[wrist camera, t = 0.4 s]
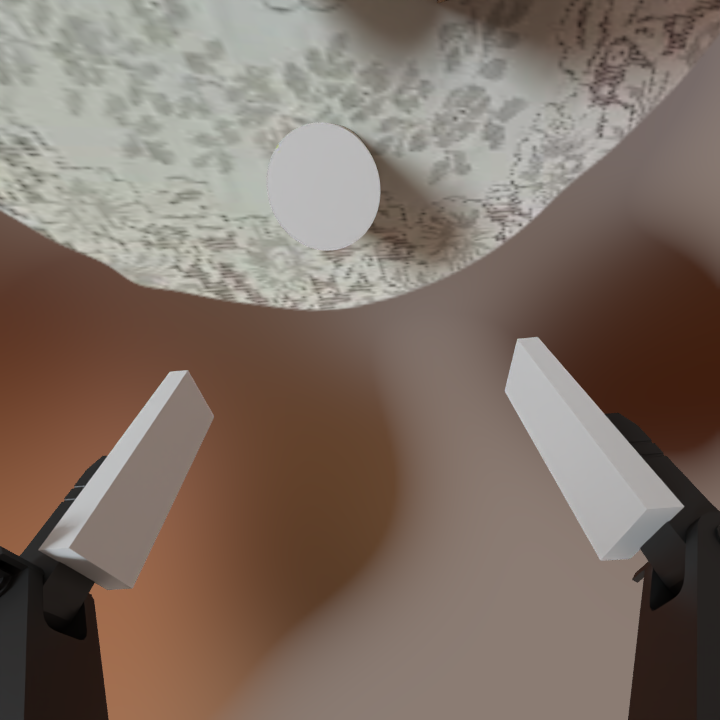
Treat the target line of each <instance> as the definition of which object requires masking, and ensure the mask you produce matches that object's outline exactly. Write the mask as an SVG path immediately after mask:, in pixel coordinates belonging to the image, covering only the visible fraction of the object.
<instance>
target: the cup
mask: <svg viewBox="0 0 720 720" xmlns="http://www.w3.org/2000/svg"><path fill="white" fill-rule="evenodd" d="M267 193H268V198H269V202H270V205H271V208H272V211H273V213H274V215H275V217H276V219H277V220H278V222H279V223H280V225H281V226H282V227H283V229H284V230H285V231H286V232H287V233H288V234H289V235H290V236H291V237H292V238H294V239H295V240H296V241H298V242H300V243H301V244H303V245H305V246H308V247H310V248H314V249H318V250H337V249H341V248H344V247H347V246H349V245H351V244H353V243H354V242H356V241H357V240H358V239H360V238H361V237H362V236H363V235H364V234H365V233H366V232H367V230H368V229H369V228H370V226H371V224H372V223H373V221H374V219H375V216H376V214H377V211H378V207H379V202H380V179H379V174H378V170H377V167H376V164H375V162H374V160H373V158H372V156H371V154H370V152H369V151H368V149H367V148H366V146H365V144H364V143H363V141H362V140H361V139H360V138H359V137H358V136H357V135H356V134H355V133H354V132H353V131H351V130H350V129H348V128H346V127H344V126H341V125H336V124H330V123H321V122H318V123H309V124H306V125H303V126H300V127H298V128H296V129H294V130H293V131H291V132H290V133H289V134H287V135H286V136H285V137H284V138H283V139H282V140H281V141H280V143H279V144H278V145H277V147H276V149H275V150H274V152H273V154H272V157H271V159H270V162H269V166H268V171H267Z"/></svg>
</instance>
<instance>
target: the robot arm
mask: <svg viewBox="0 0 720 720" xmlns="http://www.w3.org/2000/svg"><path fill="white" fill-rule="evenodd" d="M505 393H506V394H507V396H508V398H509V400H510V401H511V403H512V405H513V407H514V409H515V410H516V412H517V414H518V416H519V417H520V419H521V421H522V423H523V424H524V426H525V428H526V429H527V432H528V433H529V435H530V437H531V439H532V440H533V442H534V444H535V446H536V447H537V449H538V451H539V453H540V454H541V456H542V458H543V460H544V462H545V463H546V465H547V467H548V468H549V470H550V472H551V474H552V475H553V477H554V479H555V481H556V482H557V484H558V486H559V488H560V490H561V491H562V493H563V495H564V497H565V499H566V500H567V502H568V504H569V505H570V507H571V509H572V511H573V513H574V514H575V516H576V518H577V519H578V522H579V523H580V525H581V527H582V529H583V530H584V532H585V534H586V536H587V537H588V539H589V541H590V543H591V544H592V546H593V548H594V550H595V552H596V553H597V555H598V557H599V559H600V560H618V559H630V558H632V557H633V555H635V553H637V552H638V551H639V550H640V549H641V551H642V552H643V554H644V555H645V556H646V558H647V559H648V562H647V563H646V564H645V565H644V566H643V567H642V568H640V569H639V570H638V571H637V572H636V573H635V575H634V577H633V580H634V581H636V582H639V581H640V580H641V579H642V578H644V582H643V592H642V600H641V608H640V617H639V626H638V636H637V644H636V653H635V663H634V671H633V680H632V689H631V698H630V707H629V716H628V720H720V511H719V510H717V508H716V507H714V506H713V505H712V504H711V503H710V502H709V501H708V500H707V499H706V497H705V496H704V495H703V494H702V493H701V492H700V491H699V490H698V489H697V488H696V487H695V486H694V485H693V484H692V483H691V482H690V481H689V479H688V478H687V477H686V476H685V475H684V474H683V473H682V472H681V471H680V470H679V469H678V468H677V467H676V466H675V465H674V464H673V463H672V461H671V460H670V459H669V458H668V457H667V456H664V455H663V452H662V451H661V450H660V449H659V448H658V447H657V446H656V445H655V443H652V442H651V439H650V438H649V437H648V436H647V435H646V434H645V433H644V432H643V431H642V430H641V429H640V427H639V426H637V425H636V424H635V423H633V422H632V421H630V420H628V419H627V418H625V417H624V416H622V415H621V414H619V413H611V414H604V413H603V412H602V411H601V410H600V409H599V407H598V406H597V405H596V404H595V403H594V402H593V400H592V399H591V398H590V397H589V396H588V395H587V394H586V393H585V391H584V390H583V389H582V388H581V387H580V385H579V384H578V383H577V382H576V381H575V380H574V379H573V377H572V376H571V375H570V374H569V373H568V372H567V370H566V369H565V368H564V367H563V366H562V365H561V363H560V362H559V361H558V360H557V359H556V358H555V357H554V355H553V354H552V353H551V352H550V351H549V350H548V349H547V347H546V346H545V345H544V344H543V343H542V341H541V340H540V339H539V338H538V337H533V338H523V339H517V343H516V347H515V351H514V355H513V359H512V363H511V367H510V371H509V376H508V380H507V384H506V388H505ZM213 418H214V415H213V414H212V412H211V410H210V408H209V407H208V405H207V403H206V401H205V399H204V398H203V396H202V394H201V392H200V391H199V389H198V387H197V385H196V384H195V382H194V380H193V379H192V377H191V375H190V373H189V371H188V370H186V371H175V372H169V374H168V375H167V376H166V378H165V379H164V380H163V382H162V383H161V385H160V386H159V387H158V389H157V390H156V391H155V393H154V394H153V395H152V397H151V398H150V399H149V401H148V402H147V403H146V405H145V406H144V407H143V409H142V410H141V412H140V413H139V414H138V416H137V417H136V418H135V420H134V421H133V422H132V424H131V425H130V427H129V428H128V429H127V430H126V432H125V433H124V435H123V436H122V437H121V439H120V440H119V441H118V443H117V444H116V446H115V447H114V448H113V450H112V451H111V452H110V453H109V455H108V456H102V457H101V458H100V459H99V460H97V461H96V462H95V463H94V464H93V465H92V466H91V467H89V468H88V469H87V470H86V471H85V473H84V474H83V475H82V476H81V478H80V479H79V480H78V482H77V483H76V484H75V488H74V489H71V491H70V492H69V494H68V495H67V496H66V497H65V498H64V499H65V501H64V502H61V504H60V505H59V506H58V508H57V509H56V510H55V511H54V513H53V514H52V515H51V517H50V518H49V519H48V521H47V522H46V523H45V525H44V526H43V527H42V528H41V530H40V531H39V532H38V533H37V535H36V536H35V537H34V539H33V540H32V541H31V543H30V544H29V545H28V546H27V548H26V549H25V550H24V552H23V553H22V554H21V555H20V556H18V555H16V554H14V553H12V552H10V551H8V550H7V549H5V548H3V547H1V546H0V720H108V712H107V703H106V695H105V687H104V678H103V671H102V662H101V654H100V645H99V638H98V629H97V620H96V612H95V604H94V599H93V597H92V595H91V594H89V592H90V590H91V588H92V586H93V585H94V583H96V584H98V585H100V586H101V587H103V588H105V589H107V590H113V589H130V588H133V586H134V584H135V582H136V580H137V578H138V576H139V574H140V572H141V569H142V567H143V565H144V563H145V561H146V559H147V557H148V555H149V553H150V550H151V548H152V546H153V544H154V542H155V539H156V537H157V536H158V534H159V531H160V529H161V527H162V525H163V523H164V521H165V519H166V517H167V515H168V513H169V511H170V508H171V506H172V504H173V502H174V500H175V498H176V496H177V493H178V491H179V490H180V487H181V485H182V483H183V481H184V479H185V477H186V475H187V473H188V471H189V468H190V466H191V464H192V462H193V460H194V458H195V456H196V454H197V452H198V450H199V447H200V445H201V443H202V441H203V439H204V437H205V435H206V433H207V431H208V429H209V426H210V424H211V422H212V420H213Z"/></svg>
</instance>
